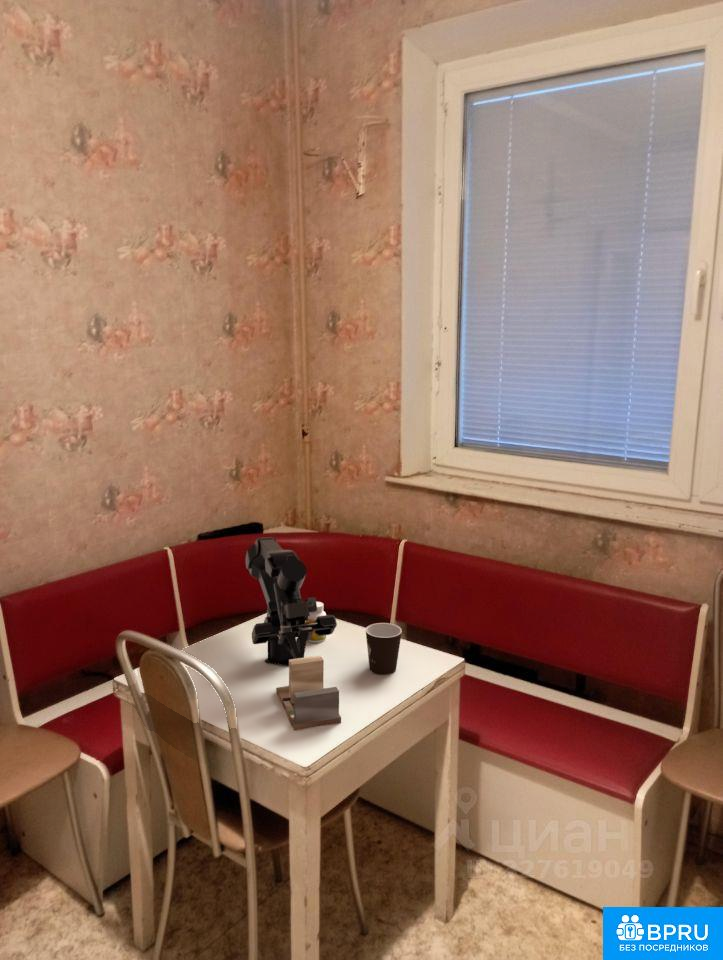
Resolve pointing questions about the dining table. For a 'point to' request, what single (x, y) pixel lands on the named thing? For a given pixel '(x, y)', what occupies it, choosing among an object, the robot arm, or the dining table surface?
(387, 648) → the coffee mug
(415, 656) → the dining table surface
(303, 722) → the gauge track
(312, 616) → the supplement bottle
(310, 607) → the robot arm
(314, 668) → the pad
